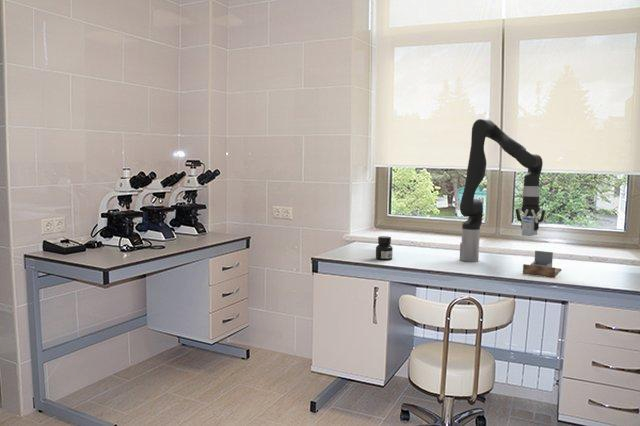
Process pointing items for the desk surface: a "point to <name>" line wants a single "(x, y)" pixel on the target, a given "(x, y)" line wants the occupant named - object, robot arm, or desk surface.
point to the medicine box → (528, 226)
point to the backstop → (540, 270)
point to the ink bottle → (384, 248)
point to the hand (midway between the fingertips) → (529, 230)
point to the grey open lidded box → (543, 259)
